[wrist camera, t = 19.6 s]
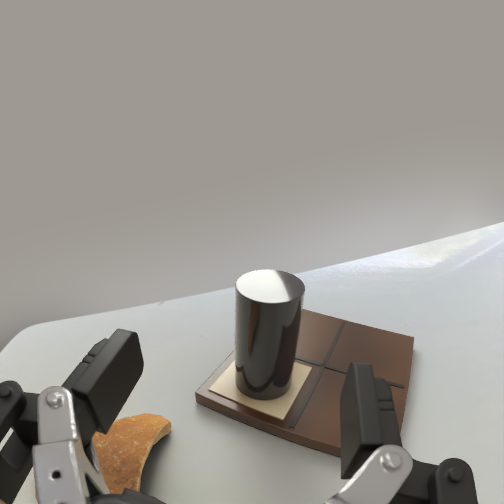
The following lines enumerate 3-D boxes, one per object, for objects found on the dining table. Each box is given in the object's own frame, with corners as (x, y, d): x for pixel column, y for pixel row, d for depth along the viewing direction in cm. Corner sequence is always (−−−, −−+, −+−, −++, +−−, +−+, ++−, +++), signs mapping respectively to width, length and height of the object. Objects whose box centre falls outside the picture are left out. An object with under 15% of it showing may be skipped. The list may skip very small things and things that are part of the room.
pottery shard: (169, 418, 22) (164, 398, 21) (193, 522, 14) (188, 510, 13) (47, 425, 19) (35, 405, 18) (40, 524, 11) (22, 510, 10)
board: (195, 401, 24) (194, 391, 24) (275, 310, 37) (276, 300, 37) (388, 469, 18) (394, 460, 17) (411, 345, 31) (414, 335, 30)
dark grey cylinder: (224, 387, 24) (222, 290, 21) (251, 355, 28) (255, 264, 24) (277, 408, 22) (289, 310, 19) (299, 371, 26) (313, 278, 23)
